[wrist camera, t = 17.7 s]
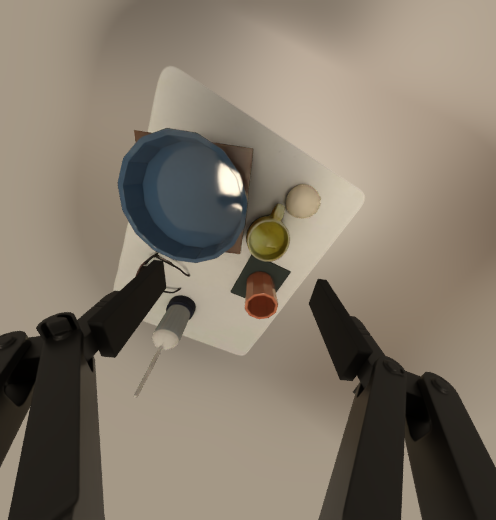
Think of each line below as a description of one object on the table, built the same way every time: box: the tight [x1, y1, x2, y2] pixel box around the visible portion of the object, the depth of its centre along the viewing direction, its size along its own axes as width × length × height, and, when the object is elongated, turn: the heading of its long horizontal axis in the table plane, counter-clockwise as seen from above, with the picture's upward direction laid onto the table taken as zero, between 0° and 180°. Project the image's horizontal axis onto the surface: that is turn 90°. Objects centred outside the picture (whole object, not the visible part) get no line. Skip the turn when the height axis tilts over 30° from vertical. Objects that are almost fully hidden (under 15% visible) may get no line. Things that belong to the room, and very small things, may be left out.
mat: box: [231, 255, 291, 298], centre depth 51 cm, size 14×12×1 cm
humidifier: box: [134, 296, 196, 397], centre depth 44 cm, size 8×8×25 cm
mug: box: [246, 204, 290, 262], centre depth 40 cm, size 12×10×10 cm
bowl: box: [118, 128, 248, 263], centre depth 28 cm, size 18×18×5 cm
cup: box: [245, 272, 278, 319], centre depth 46 cm, size 8×8×10 cm
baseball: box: [286, 185, 321, 218], centre depth 38 cm, size 7×7×7 cm
